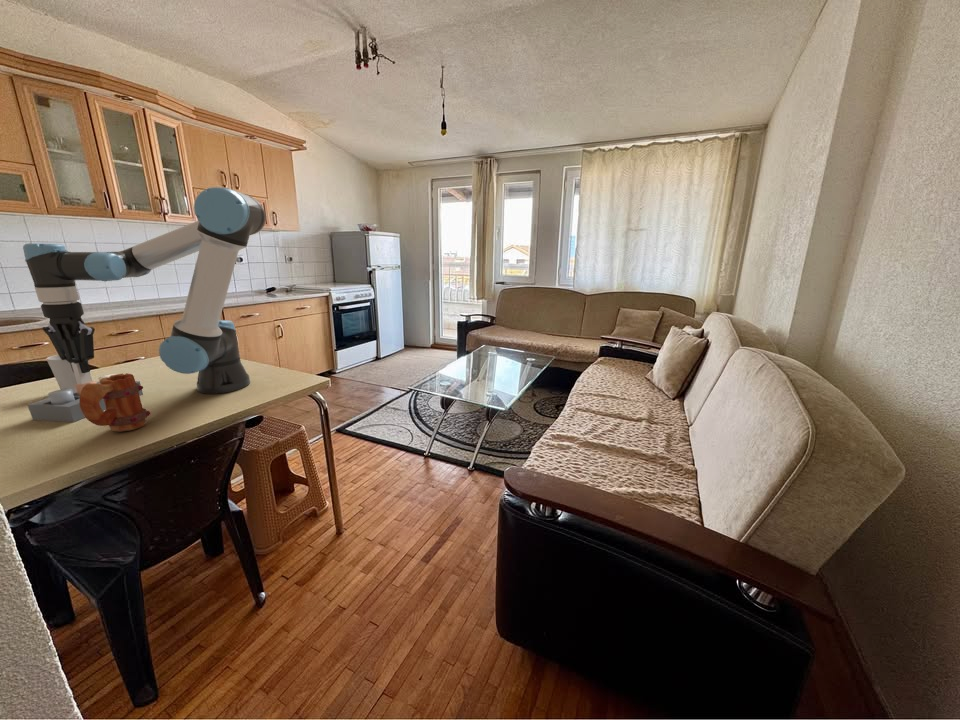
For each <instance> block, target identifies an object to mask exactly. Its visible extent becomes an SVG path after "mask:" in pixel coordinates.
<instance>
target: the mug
mask: <svg viewBox="0 0 960 720" xmlns="http://www.w3.org/2000/svg"><path fill="white" fill-rule="evenodd" d="M116 374H117V373H116ZM135 381H136V379H135V376H134V375H133V374H131V373H129V372H128V373H118V374H117V375H111V376H110V377H106V378H102V379H101V380H100V384H98V383H89V384H86V385H85V386H84V387H83V388H82V391H81V394H80V408H81V411H82V413H83V414H84V416H85V419H86V421H89V422H90V423H92V424H93V425H96V426H100V427H101V426H102V427H108V426H109V428H110V431H112V432H119V433H120V432H122V433H123V432H129V431H134V430H138V429H140V428H142V427H144V426H145V425H146V422H147V421H146V420H147V419H146V418H147V417H149V416H150V415H151V411H149V410H147V409H146V408H143V403H142V401H141V397H140V396H141V395H140V396H139V391H140V390H142V391H143V390H144V386H143V385H141V386H140V385H139V384H138V383H136V382H135ZM102 398H103V399H104V403H105V406H106V409H105V410H102V409H101V407H100V405H99V402H100V401H101V399H102Z"/></svg>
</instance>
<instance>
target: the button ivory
mask: <svg viewBox="0 0 960 720" xmlns="http://www.w3.org/2000/svg"><path fill="white" fill-rule="evenodd" d="M111 375H117V373H112V374H105V375H100V376H98V380H99V381H100V380H101V379H102V378H106V377H110V376H111ZM99 381H98V382H99Z"/></svg>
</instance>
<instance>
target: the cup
mask: <svg viewBox="0 0 960 720" xmlns="http://www.w3.org/2000/svg"><path fill="white" fill-rule="evenodd" d="M45 359H46V361H47V363H48V365H49V368H50V369H51V372H52V374H53V376H54V378H55V381H56V383H57V385H58V387H59V390H62V389H72V390H74V389H76V388H75V385H76V384H77V381H76V377H75V374H74V372H73V371H72V368H71V365H70V363H69V362H68V361H67V360H62V359H61V358H60V356H59V355H58V354H55V355H51V356H47V357H46V358H45Z"/></svg>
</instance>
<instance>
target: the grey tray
mask: <svg viewBox="0 0 960 720" xmlns="http://www.w3.org/2000/svg"><path fill="white" fill-rule="evenodd" d="M96 382H97V383H98V384H100V381H96ZM135 382H136V383H138V384H139V385H140V386H142V385H141V382H140V381H139V380H135ZM72 392H73V395H74V398H75V400H74V401H72V402H69V403H66V404H63V405H52V404H51V401H50V398H49V397H47V398H45V399H42V400H37V401H34V402H32V403H28V404H27V408H28V411H29V413H30V416H31V419H32V421H45V422H63V423H64V422H65V423H67V422H69V423H75V422H78V421H80V420H82V419H86V417H85V416H84V414H83V413H82V411H81V408H80V396H78V394H77V391H76V389H74V390H72ZM143 394H144V393H143V389H142V390H140V391H139V396H142V395H143ZM99 405H100V407H101V409H102V410H103V411H105V410H106V406H105V403H104V399H103V398H102V399H101V401H100V402H99Z"/></svg>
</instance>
